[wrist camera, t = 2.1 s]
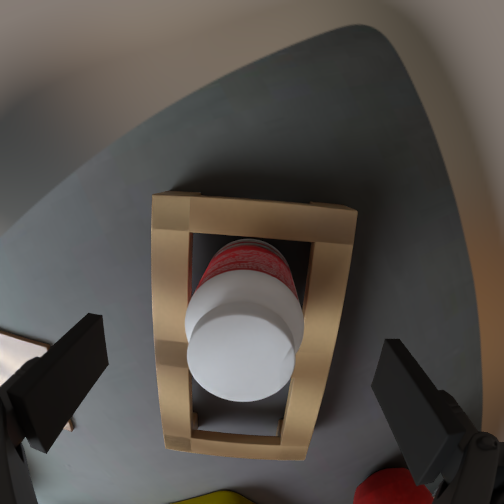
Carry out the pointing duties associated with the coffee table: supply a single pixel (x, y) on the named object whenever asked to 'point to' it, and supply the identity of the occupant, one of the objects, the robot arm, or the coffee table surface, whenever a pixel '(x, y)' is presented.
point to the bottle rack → (314, 311)
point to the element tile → (218, 499)
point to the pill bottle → (244, 323)
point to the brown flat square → (19, 356)
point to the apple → (392, 489)
